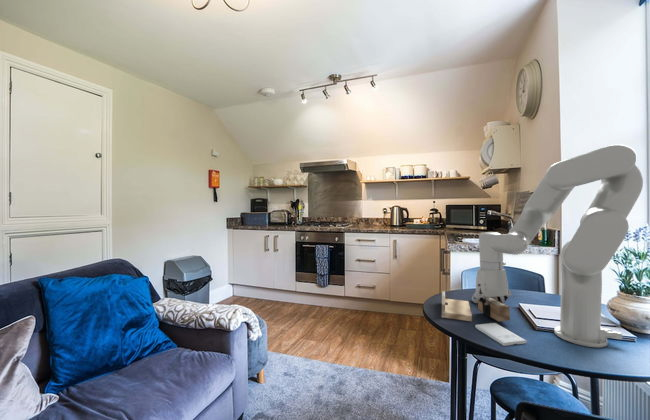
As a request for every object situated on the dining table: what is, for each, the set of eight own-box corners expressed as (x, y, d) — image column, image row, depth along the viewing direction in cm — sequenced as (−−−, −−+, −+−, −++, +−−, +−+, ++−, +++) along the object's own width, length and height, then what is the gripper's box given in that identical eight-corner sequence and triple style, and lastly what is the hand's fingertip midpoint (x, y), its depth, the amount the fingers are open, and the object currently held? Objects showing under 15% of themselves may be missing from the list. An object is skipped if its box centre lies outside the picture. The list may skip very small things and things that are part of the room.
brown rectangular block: (488, 309, 110) (488, 296, 110) (509, 320, 99) (509, 305, 99) (478, 310, 110) (477, 296, 110) (498, 321, 99) (497, 306, 99)
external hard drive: (495, 327, 99) (526, 344, 87) (475, 329, 97) (503, 347, 85) (495, 322, 99) (526, 339, 87) (475, 324, 97) (503, 342, 85)
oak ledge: (468, 305, 117) (468, 294, 117) (471, 321, 102) (471, 308, 102) (441, 302, 121) (442, 291, 121) (441, 317, 106) (441, 304, 106)
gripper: (505, 262, 109) (507, 308, 109) (464, 264, 107) (465, 312, 107) (520, 266, 101) (522, 316, 101) (476, 269, 100) (478, 319, 100)
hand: (493, 313), depth 104 cm, fingers closed on brown rectangular block, 4 cm apart
